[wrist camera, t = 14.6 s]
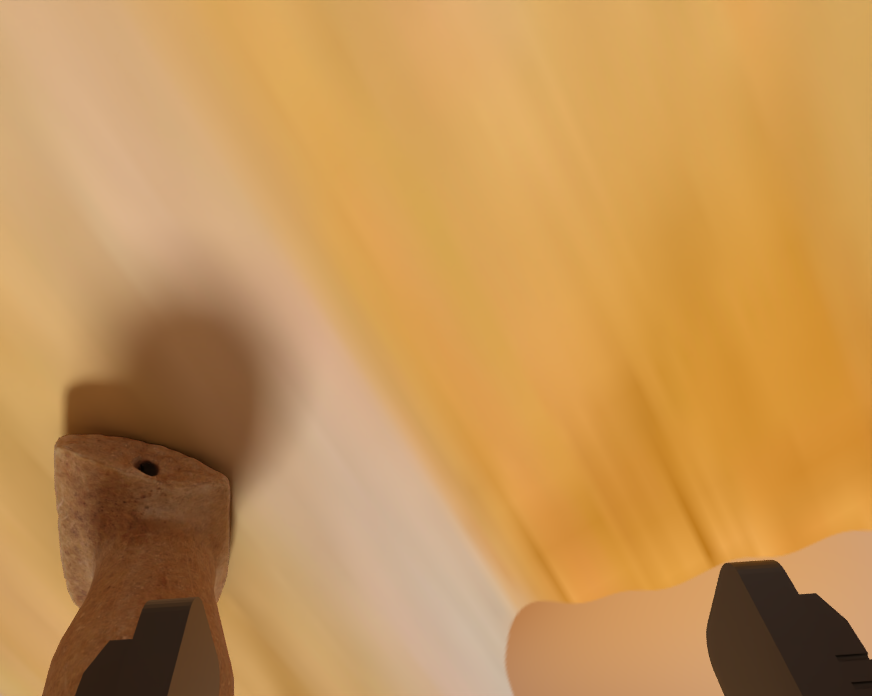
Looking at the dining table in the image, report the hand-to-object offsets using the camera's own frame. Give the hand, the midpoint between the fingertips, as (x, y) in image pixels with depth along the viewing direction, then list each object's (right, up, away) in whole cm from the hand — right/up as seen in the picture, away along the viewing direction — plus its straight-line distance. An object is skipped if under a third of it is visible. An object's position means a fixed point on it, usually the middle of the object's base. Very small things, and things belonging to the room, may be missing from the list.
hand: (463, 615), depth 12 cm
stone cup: (-17, -7, +36) cm, 40 cm away
